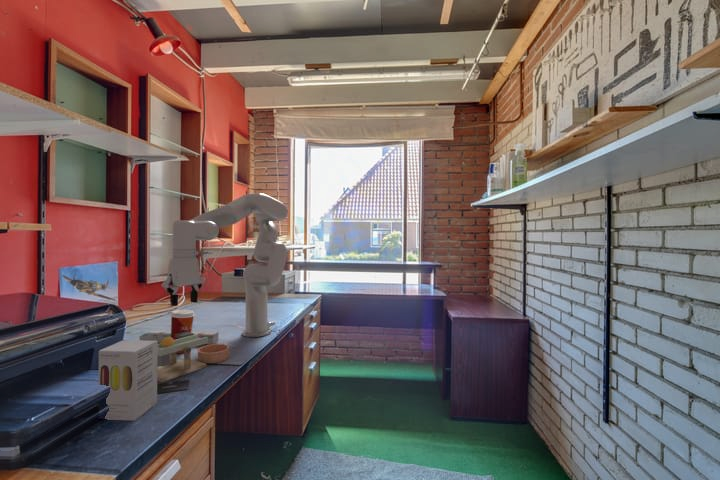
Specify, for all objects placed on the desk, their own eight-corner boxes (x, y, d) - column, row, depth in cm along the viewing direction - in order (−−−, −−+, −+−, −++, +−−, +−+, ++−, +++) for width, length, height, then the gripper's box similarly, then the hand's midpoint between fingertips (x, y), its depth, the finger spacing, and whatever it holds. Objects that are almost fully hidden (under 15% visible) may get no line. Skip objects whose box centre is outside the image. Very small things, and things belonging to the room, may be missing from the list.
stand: (187, 360, 124) (187, 337, 124) (206, 366, 118) (206, 343, 118) (142, 374, 111) (142, 349, 111) (161, 382, 105) (161, 356, 105)
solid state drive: (151, 386, 103) (151, 384, 103) (189, 381, 107) (189, 379, 107) (147, 397, 97) (147, 394, 97) (187, 391, 100) (187, 388, 100)
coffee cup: (183, 355, 129) (187, 315, 128) (162, 352, 129) (166, 312, 129) (195, 348, 137) (199, 310, 137) (175, 345, 138) (179, 308, 137)
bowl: (217, 351, 133) (217, 342, 133) (235, 356, 128) (235, 347, 128) (191, 359, 125) (191, 349, 125) (209, 365, 119) (209, 355, 119)
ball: (170, 345, 115) (170, 334, 115) (176, 347, 113) (176, 336, 113) (159, 348, 112) (159, 337, 112) (165, 350, 110) (165, 339, 110)
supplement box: (96, 420, 84) (96, 350, 83) (122, 402, 93) (122, 339, 93) (135, 421, 83) (135, 351, 83) (158, 402, 93) (158, 339, 92)
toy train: (145, 340, 147) (145, 329, 147) (218, 343, 145) (218, 331, 145) (138, 344, 142) (138, 332, 142) (213, 346, 140) (213, 334, 140)
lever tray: (186, 344, 130) (186, 329, 130) (210, 352, 122) (210, 336, 122) (136, 358, 115) (136, 341, 115) (160, 367, 107) (160, 349, 107)
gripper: (200, 253, 135) (200, 299, 136) (154, 255, 121) (154, 306, 121) (212, 253, 131) (212, 301, 132) (165, 256, 117) (165, 309, 117)
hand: (184, 303), depth 126 cm, fingers open, 6 cm apart
